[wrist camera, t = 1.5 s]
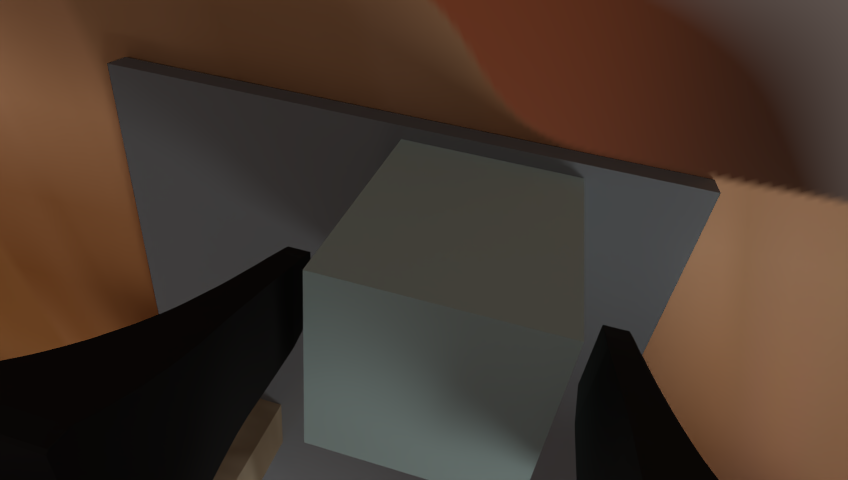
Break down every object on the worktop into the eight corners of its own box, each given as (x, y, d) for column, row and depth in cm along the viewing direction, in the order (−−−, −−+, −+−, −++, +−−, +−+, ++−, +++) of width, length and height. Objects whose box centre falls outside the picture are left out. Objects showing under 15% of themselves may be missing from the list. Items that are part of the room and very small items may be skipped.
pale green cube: (584, 178, 15) (584, 341, 9) (539, 320, 18) (518, 507, 12) (401, 139, 15) (303, 269, 10) (386, 281, 18) (304, 442, 13)
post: (281, 404, 23) (216, 512, 19) (282, 441, 25) (223, 549, 21) (226, 388, 24) (151, 491, 20) (231, 426, 25) (162, 528, 21)
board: (714, 179, 15) (720, 192, 14) (539, 551, 26) (538, 568, 25) (125, 56, 17) (106, 63, 17) (197, 444, 28) (188, 457, 28)
